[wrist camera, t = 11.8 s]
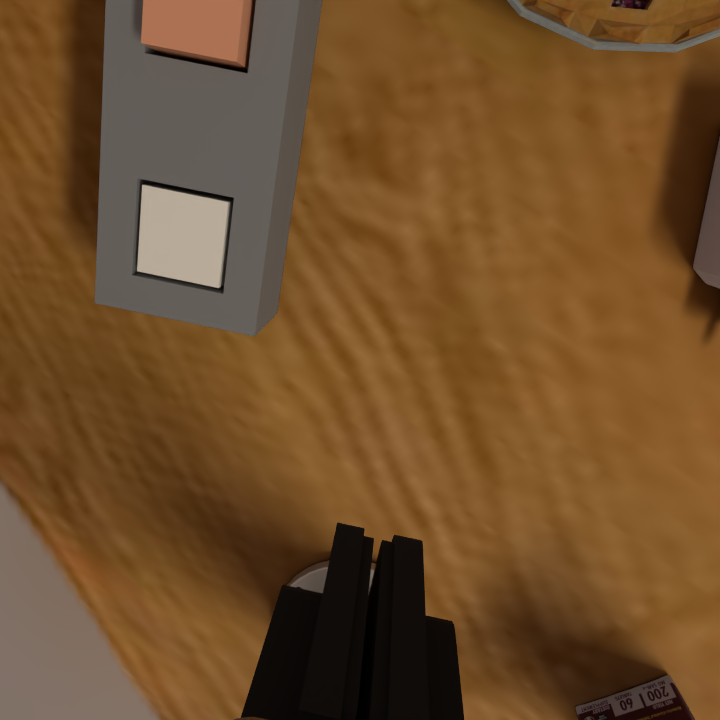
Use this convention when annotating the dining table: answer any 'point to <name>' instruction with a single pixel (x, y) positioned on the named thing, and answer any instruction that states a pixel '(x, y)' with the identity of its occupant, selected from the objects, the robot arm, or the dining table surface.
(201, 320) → the button box
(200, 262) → the beige plunger
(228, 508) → the dining table surface
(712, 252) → the charger
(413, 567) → the robot arm
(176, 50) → the terracotta plunger
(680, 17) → the pie
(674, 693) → the supplement box
